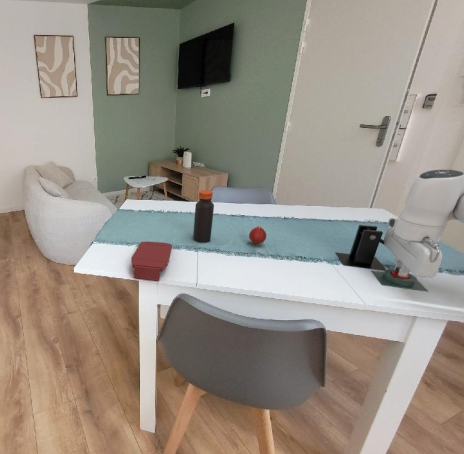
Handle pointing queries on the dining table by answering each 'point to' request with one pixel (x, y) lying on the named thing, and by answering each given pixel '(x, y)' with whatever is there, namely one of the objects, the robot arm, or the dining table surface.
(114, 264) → the dining table surface
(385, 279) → the button panel
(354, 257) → the switch bracket
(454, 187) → the robot arm
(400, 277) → the button
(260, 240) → the onion
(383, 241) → the switch lever
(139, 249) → the red lidded container
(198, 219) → the vinegar
